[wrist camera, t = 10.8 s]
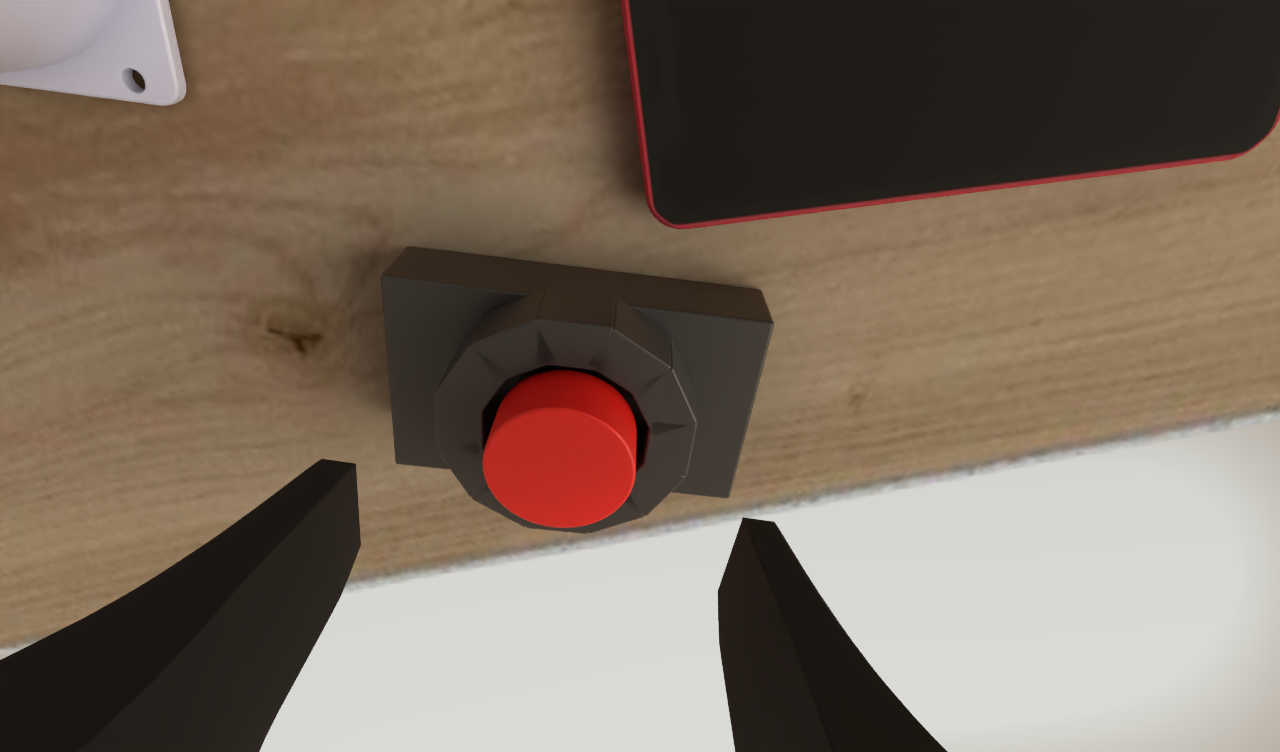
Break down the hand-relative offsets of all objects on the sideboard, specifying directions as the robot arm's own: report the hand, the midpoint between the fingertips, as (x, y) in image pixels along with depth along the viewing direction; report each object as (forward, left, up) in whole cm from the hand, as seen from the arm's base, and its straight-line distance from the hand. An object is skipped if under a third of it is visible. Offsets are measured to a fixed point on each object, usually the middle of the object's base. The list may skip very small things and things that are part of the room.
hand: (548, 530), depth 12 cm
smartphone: (+8, +9, -8) cm, 14 cm away
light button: (0, -1, -5) cm, 5 cm away
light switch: (0, -1, -8) cm, 8 cm away
